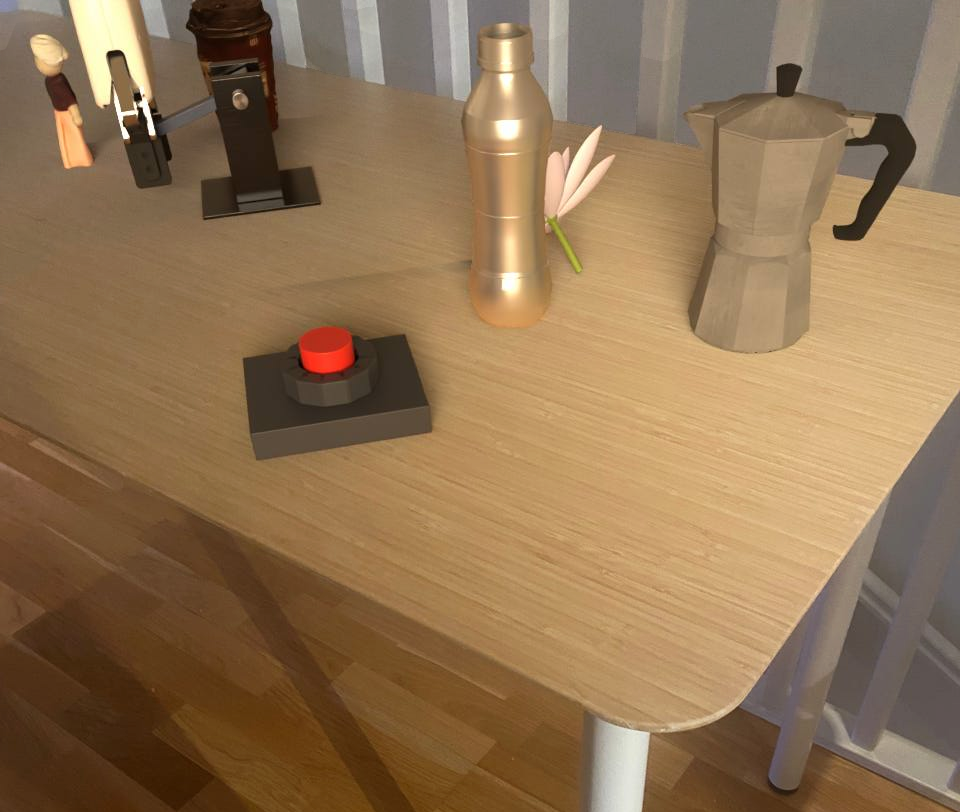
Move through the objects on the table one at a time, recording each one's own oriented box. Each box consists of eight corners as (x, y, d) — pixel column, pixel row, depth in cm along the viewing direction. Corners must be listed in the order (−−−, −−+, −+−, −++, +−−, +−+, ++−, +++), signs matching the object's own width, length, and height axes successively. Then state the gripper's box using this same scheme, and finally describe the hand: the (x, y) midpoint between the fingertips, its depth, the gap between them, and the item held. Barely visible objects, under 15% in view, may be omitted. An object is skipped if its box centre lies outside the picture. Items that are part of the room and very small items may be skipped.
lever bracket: (205, 229, 92) (171, 91, 83) (203, 192, 98) (171, 60, 90) (322, 214, 93) (300, 76, 85) (313, 178, 99) (292, 47, 91)
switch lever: (139, 163, 89) (124, 137, 87) (141, 143, 92) (126, 118, 90) (261, 106, 88) (247, 78, 86) (257, 88, 91) (245, 62, 89)
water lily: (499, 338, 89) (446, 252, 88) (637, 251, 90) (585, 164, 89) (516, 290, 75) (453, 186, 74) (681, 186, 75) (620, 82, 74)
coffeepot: (646, 339, 75) (669, 78, 62) (679, 284, 81) (706, 35, 68) (855, 375, 70) (927, 101, 57) (874, 313, 76) (943, 52, 63)
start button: (305, 380, 66) (300, 356, 65) (300, 353, 69) (296, 330, 67) (358, 372, 66) (354, 348, 65) (351, 345, 69) (348, 322, 68)
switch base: (256, 461, 66) (243, 410, 63) (248, 384, 73) (236, 334, 70) (431, 433, 67) (427, 382, 65) (408, 359, 74) (402, 310, 71)
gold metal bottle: (541, 292, 81) (542, 11, 66) (560, 333, 76) (565, 40, 62) (464, 302, 80) (447, 21, 66) (478, 343, 75) (464, 51, 61)
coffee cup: (221, 158, 104) (190, 18, 95) (203, 133, 110) (172, -2, 100) (300, 142, 106) (277, 3, 97) (279, 119, 112) (255, -15, 102)
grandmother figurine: (51, 167, 105) (5, 31, 95) (84, 156, 106) (42, 22, 97) (85, 186, 100) (40, 47, 91) (119, 175, 102) (78, 37, 93)
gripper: (50, -78, 84) (118, 146, 97) (31, -30, 72) (111, 216, 86) (139, -87, 85) (194, 136, 98) (134, -41, 73) (197, 204, 86)
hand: (155, 171), depth 92 cm, fingers closed on switch lever, 5 cm apart
